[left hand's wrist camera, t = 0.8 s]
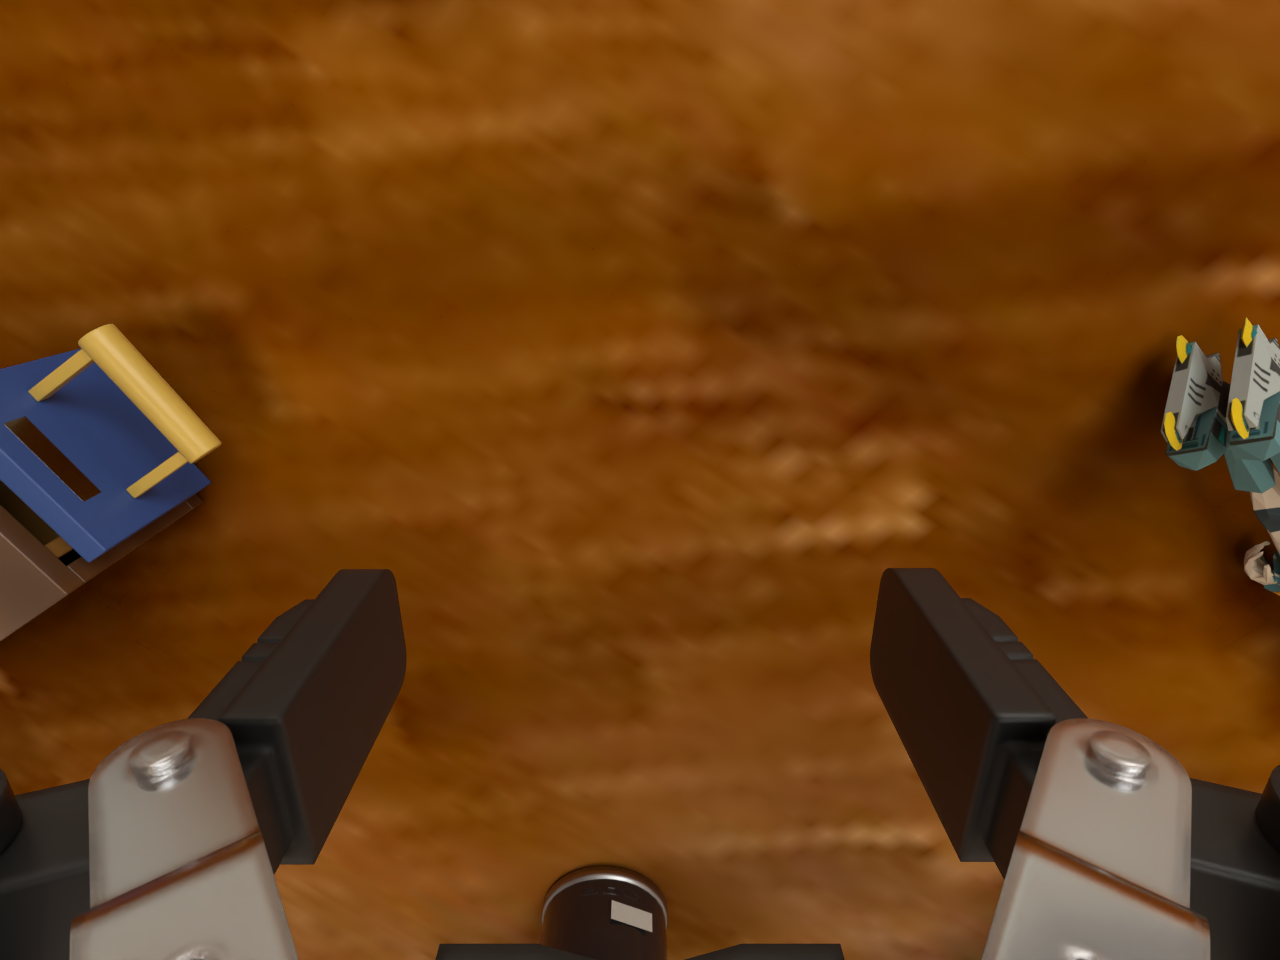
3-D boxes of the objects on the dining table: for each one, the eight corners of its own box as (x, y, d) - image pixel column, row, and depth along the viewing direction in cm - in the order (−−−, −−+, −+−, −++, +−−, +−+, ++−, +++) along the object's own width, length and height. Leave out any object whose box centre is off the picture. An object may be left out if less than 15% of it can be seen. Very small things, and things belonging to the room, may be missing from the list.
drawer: (157, 290, 35) (20, 314, 27) (282, 433, 37) (190, 492, 30) (-131, 516, 39) (-317, 592, 32) (0, 629, 42) (-142, 723, 34)
